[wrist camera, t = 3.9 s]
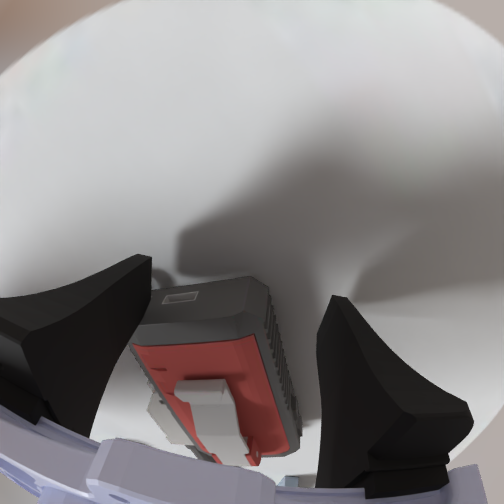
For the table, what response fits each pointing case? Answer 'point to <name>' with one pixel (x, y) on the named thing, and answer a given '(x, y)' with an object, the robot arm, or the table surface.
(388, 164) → the table surface
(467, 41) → the table surface
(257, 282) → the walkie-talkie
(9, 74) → the table surface
